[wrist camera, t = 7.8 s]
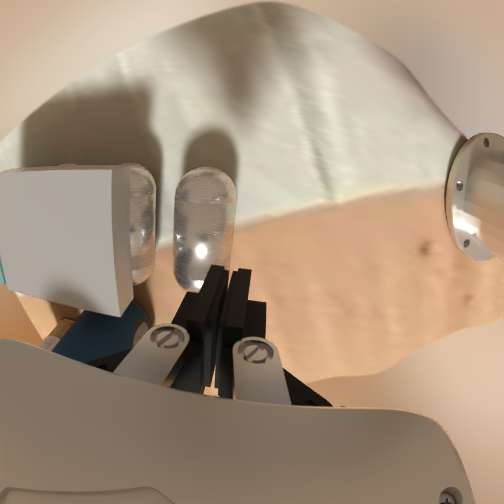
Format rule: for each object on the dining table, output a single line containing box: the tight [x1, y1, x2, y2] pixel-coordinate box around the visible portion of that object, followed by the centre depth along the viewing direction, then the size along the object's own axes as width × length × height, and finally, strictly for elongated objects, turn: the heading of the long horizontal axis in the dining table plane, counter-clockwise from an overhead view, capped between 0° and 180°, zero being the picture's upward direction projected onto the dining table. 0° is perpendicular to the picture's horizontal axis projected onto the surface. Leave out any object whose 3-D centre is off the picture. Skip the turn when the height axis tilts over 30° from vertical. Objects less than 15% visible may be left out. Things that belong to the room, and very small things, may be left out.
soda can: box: [51, 300, 152, 364], centre depth 19 cm, size 7×7×12 cm
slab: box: [0, 165, 134, 317], centre depth 16 cm, size 11×9×2 cm
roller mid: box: [119, 162, 156, 286], centre depth 19 cm, size 9×4×4 cm, turn 173°
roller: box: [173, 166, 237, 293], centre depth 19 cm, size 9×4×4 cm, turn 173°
